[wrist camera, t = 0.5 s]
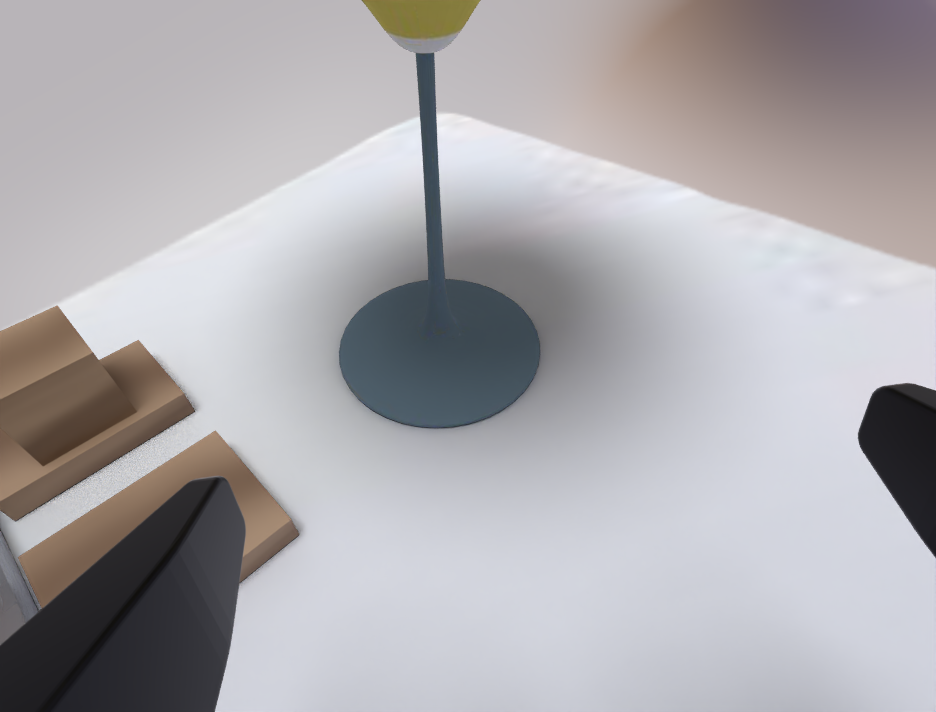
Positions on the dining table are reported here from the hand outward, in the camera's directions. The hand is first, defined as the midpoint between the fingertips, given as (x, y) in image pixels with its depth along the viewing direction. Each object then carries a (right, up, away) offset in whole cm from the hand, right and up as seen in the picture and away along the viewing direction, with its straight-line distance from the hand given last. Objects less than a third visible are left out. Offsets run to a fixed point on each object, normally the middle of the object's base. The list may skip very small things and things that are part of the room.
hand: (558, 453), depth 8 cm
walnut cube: (-19, -1, +17) cm, 26 cm away
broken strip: (-16, -4, +16) cm, 23 cm away
